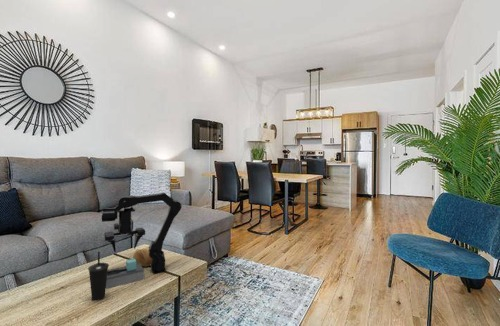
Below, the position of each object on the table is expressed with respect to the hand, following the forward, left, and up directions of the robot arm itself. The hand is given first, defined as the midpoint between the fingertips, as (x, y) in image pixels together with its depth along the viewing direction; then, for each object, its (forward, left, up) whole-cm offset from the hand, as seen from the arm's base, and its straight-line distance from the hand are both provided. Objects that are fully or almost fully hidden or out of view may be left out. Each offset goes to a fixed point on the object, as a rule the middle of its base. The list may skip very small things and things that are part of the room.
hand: (124, 250), depth 130 cm
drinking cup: (+13, +16, -13) cm, 25 cm away
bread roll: (-11, -10, -13) cm, 20 cm away
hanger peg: (-2, +5, -12) cm, 13 cm away
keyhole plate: (+2, +5, -13) cm, 14 cm away
